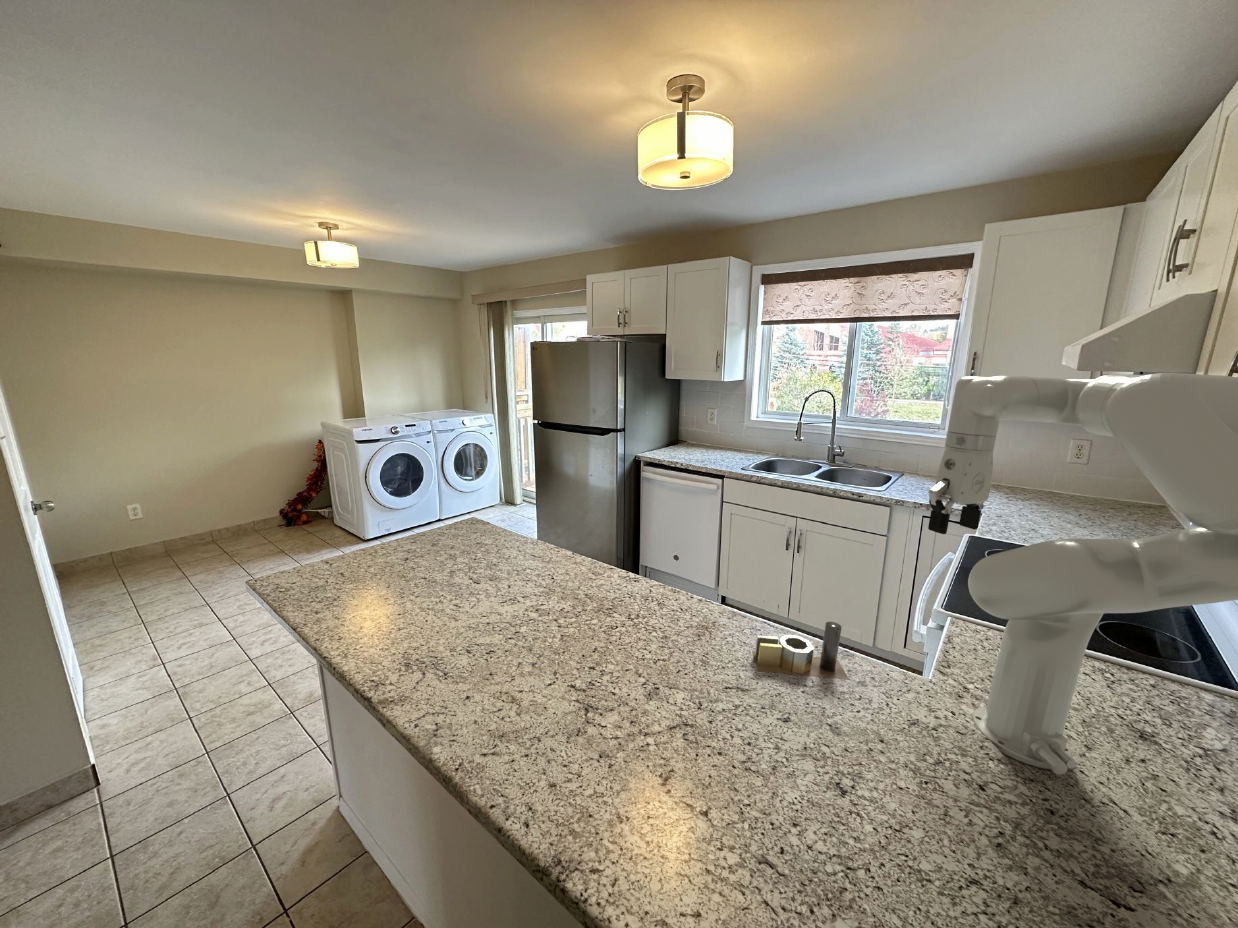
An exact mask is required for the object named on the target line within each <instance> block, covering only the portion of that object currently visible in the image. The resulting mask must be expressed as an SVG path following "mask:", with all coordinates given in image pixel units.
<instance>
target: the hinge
mask: <svg viewBox="0 0 1238 928" xmlns="http://www.w3.org/2000/svg"><path fill="white" fill-rule="evenodd" d="M755 642H756V643H755V649H754V650H755V658H758V666H761V667H772V668H779V666H780V667H781V668H783V669H785V670H787V671H789V672H790V673H791V672H792V673H797V674H806V673H807V672H808V671H810V670H811V664H812V657H814V651H815V648H814V646H813V644H812V642H811V641H810V640H809V639H806V638H804V637H803V636H800V635H794V634H784V635H783V636H781V637H780V638H779V637H778V636H770V635H759V634H757V635H756V641H755Z"/></svg>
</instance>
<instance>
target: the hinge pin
mask: <svg viewBox="0 0 1238 928" xmlns="http://www.w3.org/2000/svg"><path fill="white" fill-rule="evenodd" d="M824 627H825V628H824V633H823V640H822V645H821V646H822V647H821V654H820V657H821V659H820V667H821V668H822V669H823V670H825V671H829V672H833V671H835V667H836V660H838V652H839V647H840V641H841V640H840V639H841V634H842V627H843V626H842V625H841V624H839V623H838V622H835V621H827V622H825V626H824Z"/></svg>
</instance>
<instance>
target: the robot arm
mask: <svg viewBox="0 0 1238 928" xmlns="http://www.w3.org/2000/svg"><path fill="white" fill-rule="evenodd" d="M1000 421H1006V422H1008V421H1009V422H1031V423H1046V424H1047V423H1049V424H1050V423H1051V424H1061V425H1071V426H1081V428H1082V429H1083V430H1085V431H1087V433H1090V434H1092V435H1096V436H1097V435H1098V436H1103V437H1104V436H1105V437H1111V438H1113V437H1114V438H1115V440H1116V442H1117V443H1118V444H1119V446H1120V447H1121V448H1122V449H1123V451H1124V452H1125V454H1127V456H1128V457H1129V459H1130V460H1132V462H1133V463H1134V464H1135V465H1136V466H1137V467H1138V469H1139V470H1140V472H1141V473H1142V474H1143V475H1144V476H1145V477H1146V479H1147V480H1148V481H1149V482H1150V483H1151V485H1152V486H1153V487H1154V489H1156V491H1157V492H1158V494H1159V495H1160V496H1161V497H1162V498H1163V499H1164V501H1166V503H1167V504H1168V505H1169V506H1170V507H1171V508H1172V509H1173V510H1174V511H1175V512H1176V513H1177V514H1179V516H1181V517H1183V519H1185V520H1187V521H1188V522H1189V523H1192V524H1193V525H1195V526H1194V527H1188V528H1184V529H1181V530H1177V531H1173V532H1169V533H1165V534H1158V535H1153V536H1147V537H1139V538H1134V539H1120V538H1119V539H1116V538H1113V539H1112V538H1060V539H1051V540H1047V541H1046V540H1045V541H1042V542H1037V543H1032V544H1028V545H1025V546H1021V547H1016V548H1014V549H1008V550H1005V551H1000V552H998V553H993V554H991V555H988V556H986V557H983V558H982V559H980V560H978V561H977V562H976V564H974V566H973V567H972V569H971V570H970V573H969V575H968V580H967V587H968V591H969V594H970V596H971V598H972V599H973V601H974V602H975V603H976V605H977V606H978V607H979V608H980V609H982V611H984V612H986V613H987V614H989V615H991V616H993V617H996V618H1000V619H1003V620H1008V622H1007V623H1006V624H1005V625H1006V626H1005V628H1004V630H1003V634H1002V639H1001V641H1000V646H999V651H998V655H997V659H996V663H995V668H994V672H993V677H992V681H991V685H990V690H989V695H988V698H987V704H986V706H983V707H981V706H980V707H979V708H976V709H975V710H974V711H973V713H972V715H971V721H972V722H973V724H974V725H975V727H976V728H977V730H978V731H979V732H980V733H982V734H983V736H984V737H985V738H986V739H988V741H989V742H990V743H992V744H993V745H994V747H995V748H996V749H997V750H998V751H999V752H1000V753H1003V754H1004V755H1006V756H1008V757H1010V758H1012V759H1014V760H1016V761H1018V762H1021V763H1024V764H1026V765H1029V766H1033V767H1037V768H1040V769H1045V770H1051V771H1052V772H1053V774H1056V775H1059V776H1061V775H1064V774H1066V773H1067V772H1068V769H1074V768H1076V767H1077V765H1078V763H1077V761H1076V760H1074V758H1072V755H1073V754H1072V750H1071V749H1070V747H1069V746H1068V744H1067V743H1068V738H1067V737H1065V735H1063V734H1064V732H1065V731H1064V730H1065V726H1066V723H1067V719H1068V715H1069V711H1070V708H1071V704H1072V701H1073V697H1074V694H1075V693H1074V692H1075V690H1076V685H1077V682H1078V678H1079V674H1080V672H1081V668H1082V664H1083V661H1084V657H1085V655H1086V651H1087V648H1088V646H1089V645H1088V644H1089V642H1090V640H1091V637H1092V635H1093V634H1094V631H1095V629H1096V627H1097V625H1098V624H1099V622H1100V621H1101V619H1102V617H1103V615H1105V614H1136V613H1145V612H1151V611H1158V610H1162V609H1169V608H1171V609H1172V608H1179V607H1189V606H1199V605H1208V604H1210V605H1211V604H1217V603H1223V602H1231V601H1232V602H1233V601H1238V377H1236V376H1229V375H1222V374H1219V375H1217V374H1216V375H1215V374H1214V375H1213V374H1202V373H1201V374H1199V373H1184V372H1183V373H1181V372H1180V373H1179V372H1158V373H1150V374H1122V373H1121V374H1120V373H1114V374H1113V373H1111V374H1104V375H1101V376H1099V377H1097V378H1095V379H1088V378H1087V379H1084V378H1081V379H1079V378H1061V377H1060V378H1059V377H1058V378H1057V377H1044V376H1043V377H1042V376H1021V375H1020V376H1016V375H996V376H962V377H961V378H959V379H958V380H957V382H956V384H955V389H954V394H953V398H952V404H951V410H950V416H949V421H948V425H947V433H946V437H945V443H944V452H943V455H942V457H941V461H940V463H939V468H938V471H937V475H936V479H935V485H934V486H933V487H931V488H930V489H929V490H928V497H929V500H928V504H929V506H930V507H929V510H930V515H929V520H928V527H927V529H928V530H929V531H932V532H935V533H938V534H942V535H946V534H947V533H948V527H949V522H950V517H951V513H950V514H949V512H950V510H951V509H952V507H953V506H954V504H956V505H960V506H962V508H961V510H960V511H961V512H960V517H959V522H958V523H959V526H961V527H964V528H966V529H967V528H968V529H970V530H978V528H979V524H980V518H981V514H982V510H983V509H984V507H985V506H984V505H985V504H984V503H985V502H987V501H988V499H989V496H990V490H991V487H992V486H991V484H992V479H993V478H992V477H993V471H994V470H993V466H994V450H995V445H996V440H997V434H998V429H999V424H1000ZM944 503H945V504H944Z"/></svg>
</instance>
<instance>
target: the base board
mask: <svg viewBox="0 0 1238 928" xmlns="http://www.w3.org/2000/svg"><path fill="white" fill-rule="evenodd" d="M751 653H752V656H753V659H754V662H755V665H756V668H757V671H758V672H764V673H773V674H774V673H775V674H784V675H785V674H787V675H795V676H805V677H819V678H829V679H840V680H850V678H849V676H848V674H847V673H846V670H845V669H844V668H843V667H842V665H841V663H840V661H839V660H838V659H837V660H836V667H835V671H833V672H829V671H825V670H823V669H822V668H821V667H820V659H821V656H813V657H812V664H811V670H810V671H808V672H807V673H806V674H797V673H792V672H791V673H790V672H789V671H787V670H785V669H783V668H781V667H780V666H779V668H772V667H761V666H758V658H755V651H753V650H752V651H751Z"/></svg>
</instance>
